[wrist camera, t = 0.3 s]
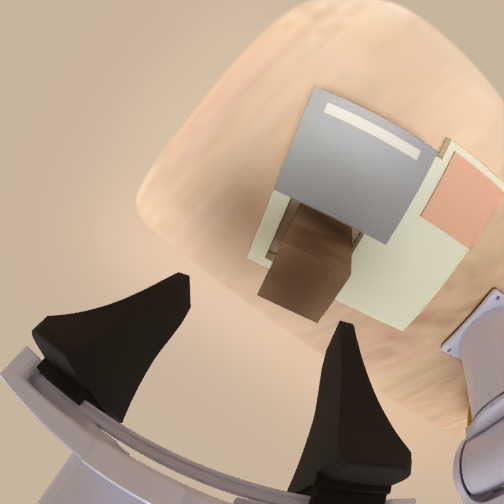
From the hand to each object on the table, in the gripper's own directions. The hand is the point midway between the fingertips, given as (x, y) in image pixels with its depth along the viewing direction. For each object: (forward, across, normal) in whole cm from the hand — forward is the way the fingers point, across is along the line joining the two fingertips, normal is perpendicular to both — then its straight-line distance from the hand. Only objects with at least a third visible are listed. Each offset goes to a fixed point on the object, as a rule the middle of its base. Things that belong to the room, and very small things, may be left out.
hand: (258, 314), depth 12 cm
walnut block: (+9, -1, 0) cm, 10 cm away
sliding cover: (+8, -3, -6) cm, 11 cm away
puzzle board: (+9, -5, -2) cm, 11 cm away
